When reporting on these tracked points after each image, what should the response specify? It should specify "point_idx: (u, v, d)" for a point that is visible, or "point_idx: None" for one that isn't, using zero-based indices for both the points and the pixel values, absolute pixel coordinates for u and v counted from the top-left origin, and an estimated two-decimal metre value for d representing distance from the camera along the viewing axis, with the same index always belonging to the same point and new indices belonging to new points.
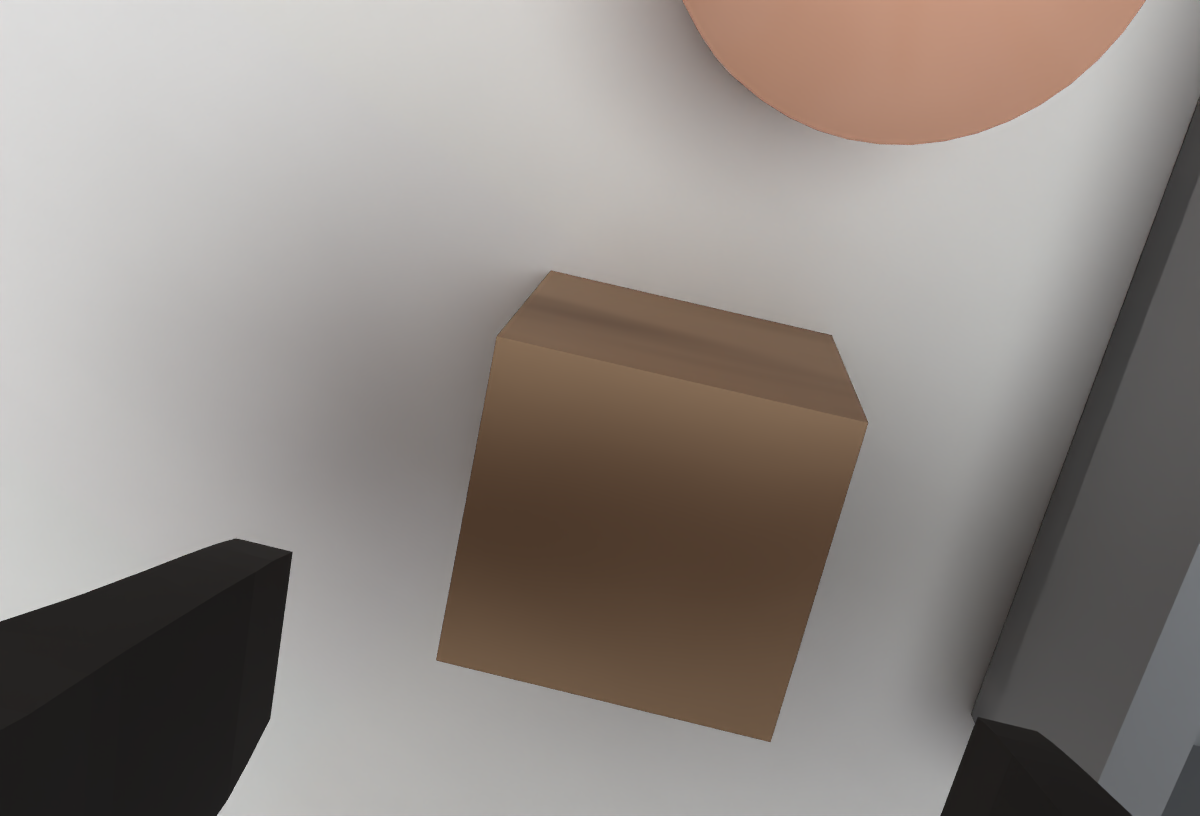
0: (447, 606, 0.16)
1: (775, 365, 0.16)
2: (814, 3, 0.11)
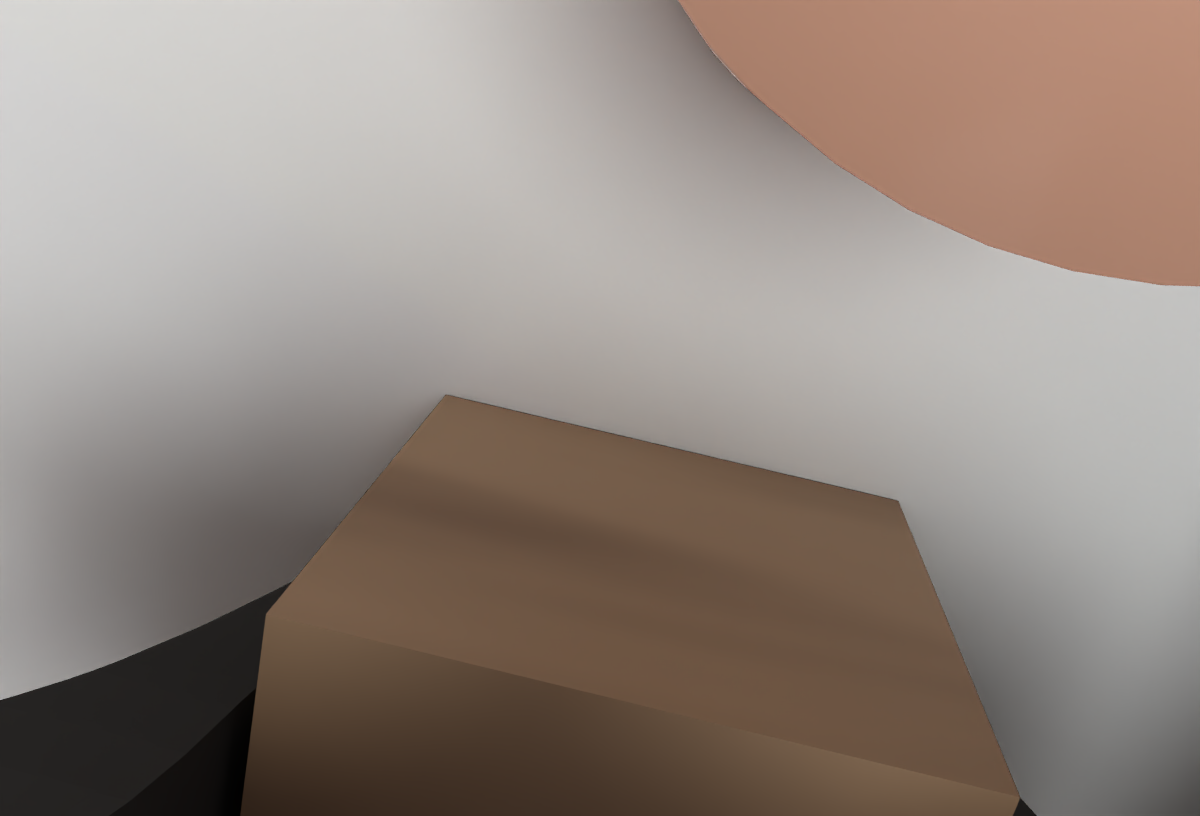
0: None
1: (818, 614, 0.09)
2: None
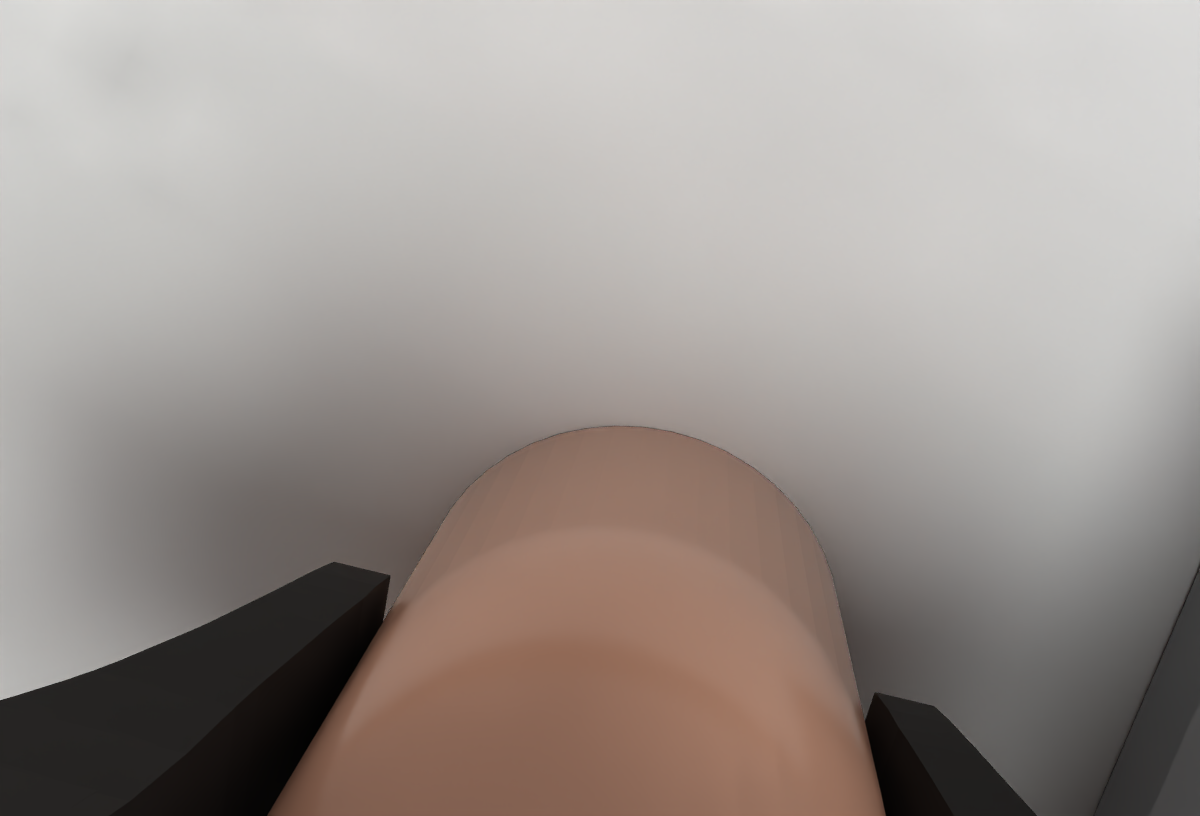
0: None
1: None
2: None
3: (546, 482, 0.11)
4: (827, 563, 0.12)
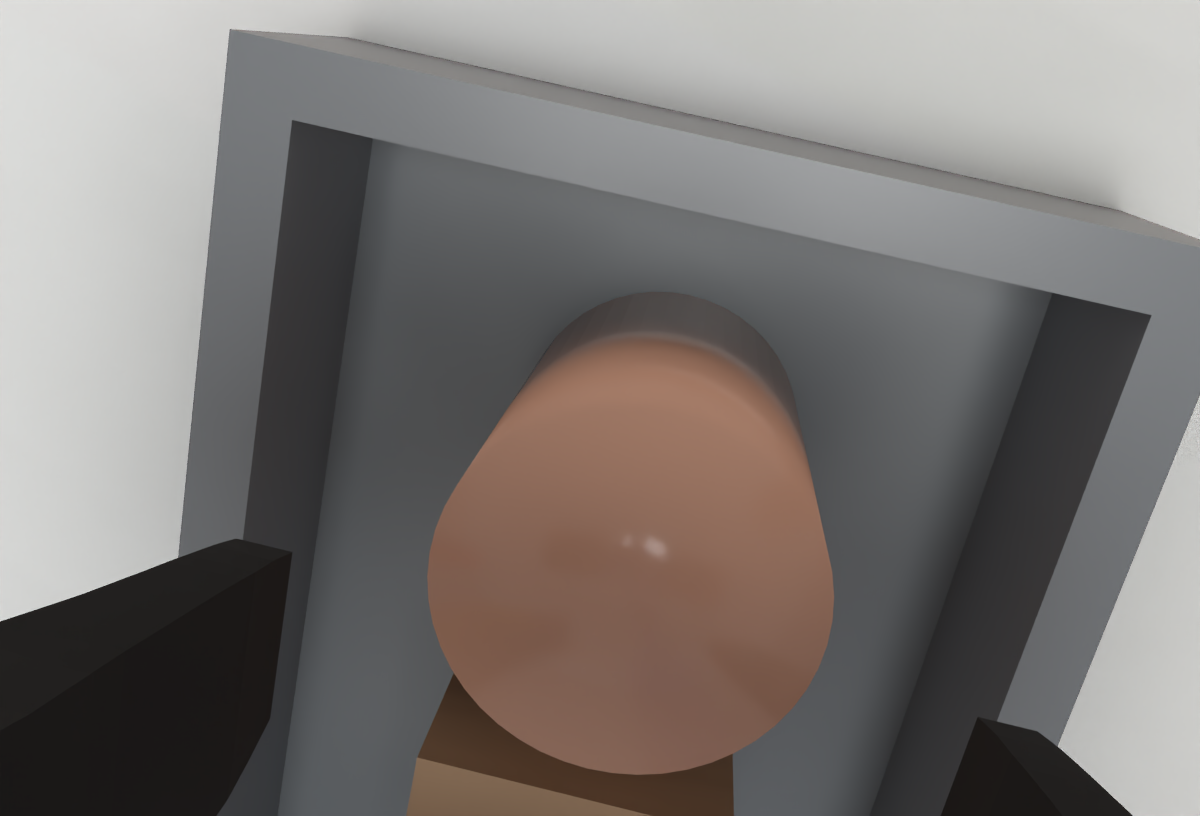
0: None
1: None
2: (554, 675, 0.14)
3: (613, 314, 0.18)
4: (788, 379, 0.20)
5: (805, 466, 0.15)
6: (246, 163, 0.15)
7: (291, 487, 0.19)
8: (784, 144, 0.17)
